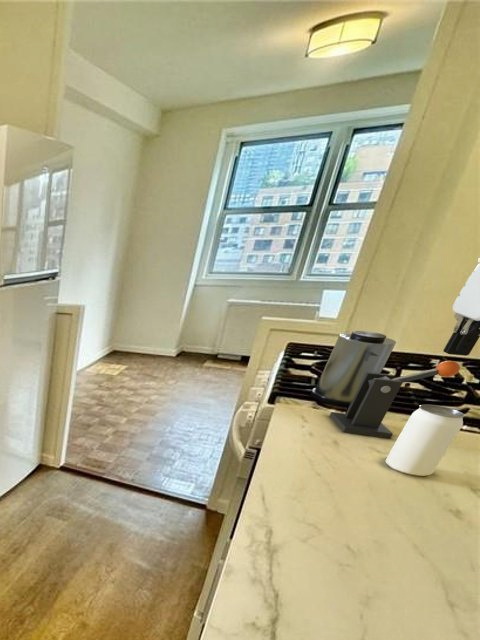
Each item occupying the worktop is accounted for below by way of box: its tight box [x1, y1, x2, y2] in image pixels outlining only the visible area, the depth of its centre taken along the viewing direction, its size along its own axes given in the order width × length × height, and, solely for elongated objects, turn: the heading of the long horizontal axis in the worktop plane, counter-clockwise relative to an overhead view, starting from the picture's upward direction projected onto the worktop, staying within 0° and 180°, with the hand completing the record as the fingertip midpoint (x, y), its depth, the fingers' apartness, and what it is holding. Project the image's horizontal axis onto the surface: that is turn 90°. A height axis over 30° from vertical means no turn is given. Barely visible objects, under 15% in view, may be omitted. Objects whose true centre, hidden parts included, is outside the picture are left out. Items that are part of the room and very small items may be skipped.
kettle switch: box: [368, 360, 461, 387], centre depth 100 cm, size 13×3×3 cm, turn 64°
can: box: [385, 404, 466, 477], centre depth 89 cm, size 6×6×12 cm
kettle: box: [309, 330, 397, 409], centre depth 117 cm, size 11×14×17 cm
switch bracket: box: [328, 372, 404, 439], centre depth 105 cm, size 8×9×12 cm
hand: (455, 353), depth 96 cm, fingers closed
